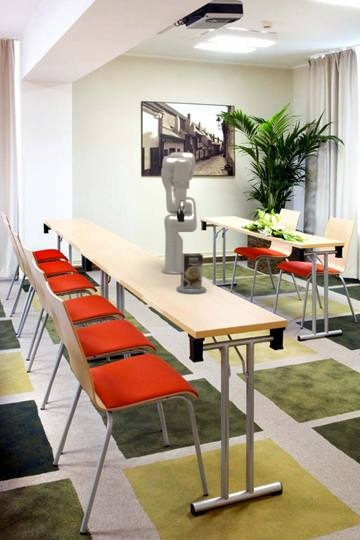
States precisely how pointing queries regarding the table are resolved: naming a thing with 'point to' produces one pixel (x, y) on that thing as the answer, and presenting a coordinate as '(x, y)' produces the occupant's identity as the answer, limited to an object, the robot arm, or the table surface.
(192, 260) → the coffee box
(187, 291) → the dish
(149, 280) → the table surface
